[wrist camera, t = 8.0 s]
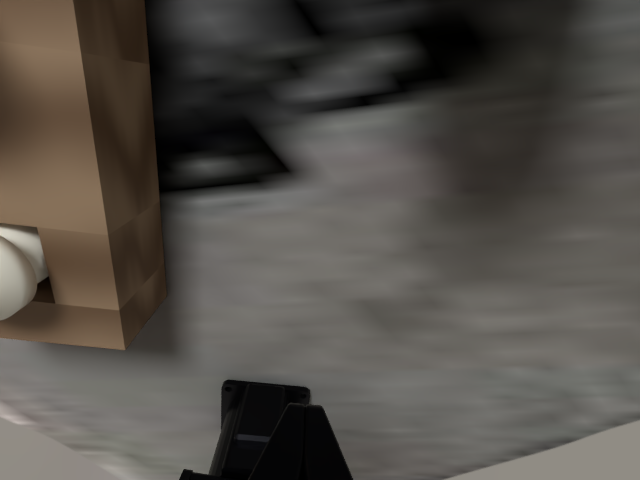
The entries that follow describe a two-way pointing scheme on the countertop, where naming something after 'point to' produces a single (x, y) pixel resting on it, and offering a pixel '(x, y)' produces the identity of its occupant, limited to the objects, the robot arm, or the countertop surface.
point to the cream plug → (19, 267)
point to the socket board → (81, 167)
